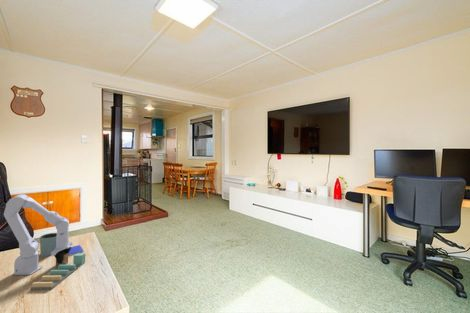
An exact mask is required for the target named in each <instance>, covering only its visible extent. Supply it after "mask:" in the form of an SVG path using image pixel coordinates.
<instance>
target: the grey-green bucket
mask: <svg viewBox="0 0 470 313" xmlns="http://www.w3.org/2000/svg"><path fill="white" fill-rule="evenodd" d="M56 237H57V232H50V233H46V234H42V235H40V236H39V248H40V249H39V250H40V256H41V257H49V256H52V255H51V252H52V251H53V250H54V249H55V248H56Z"/></svg>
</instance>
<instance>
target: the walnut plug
mask: <svg viewBox="0 0 470 313" xmlns="http://www.w3.org/2000/svg"><path fill="white" fill-rule="evenodd" d="M68 264H69V255H68V253H64V255H63V261H62V263H59V264H58V263H57V260H56V259H55V266H57V267H58V265H68Z"/></svg>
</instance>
